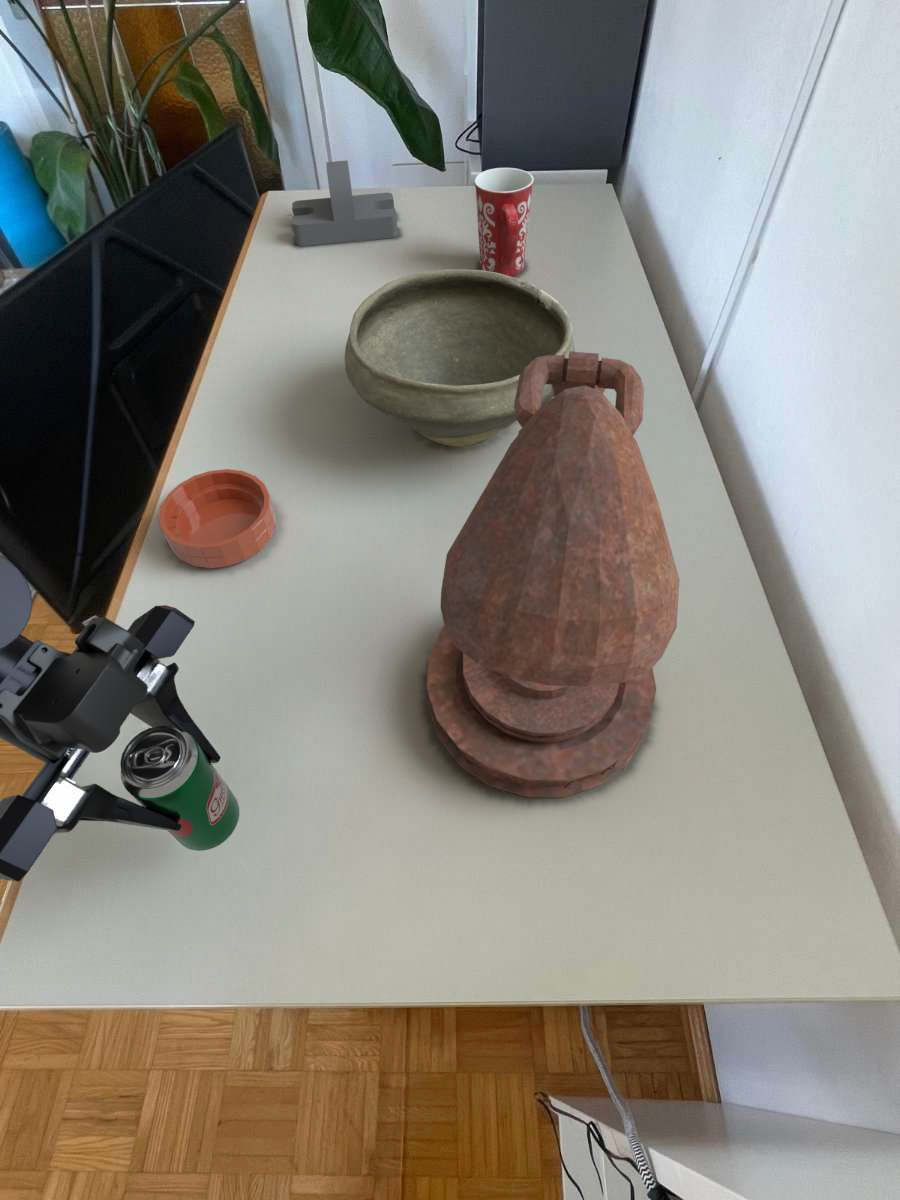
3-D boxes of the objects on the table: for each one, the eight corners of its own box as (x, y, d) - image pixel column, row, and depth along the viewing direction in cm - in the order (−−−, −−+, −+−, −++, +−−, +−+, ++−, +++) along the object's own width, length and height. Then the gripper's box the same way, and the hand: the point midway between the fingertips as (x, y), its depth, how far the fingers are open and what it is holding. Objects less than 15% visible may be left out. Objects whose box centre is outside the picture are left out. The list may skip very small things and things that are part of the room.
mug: (471, 255, 118) (471, 168, 108) (524, 251, 119) (529, 164, 108) (479, 294, 111) (479, 205, 100) (535, 290, 111) (542, 200, 100)
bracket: (398, 237, 123) (392, 170, 115) (296, 246, 122) (282, 180, 113) (393, 212, 129) (388, 147, 120) (296, 221, 128) (283, 156, 119)
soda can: (243, 843, 53) (195, 782, 44) (176, 860, 53) (112, 802, 43) (239, 782, 56) (193, 712, 47) (175, 798, 56) (115, 730, 46)
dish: (165, 577, 77) (151, 553, 74) (177, 500, 84) (165, 475, 81) (276, 564, 78) (267, 540, 75) (278, 488, 85) (270, 464, 82)
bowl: (475, 524, 80) (475, 427, 69) (312, 429, 92) (289, 331, 81) (607, 405, 93) (625, 306, 82) (449, 334, 104) (446, 238, 93)
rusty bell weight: (389, 861, 58) (283, 532, 26) (453, 567, 77) (438, 168, 45) (648, 904, 55) (885, 598, 23) (648, 589, 74) (779, 182, 42)
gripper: (-127, 807, 31) (168, 943, 38) (117, 520, 42) (314, 664, 49) (-141, 815, 39) (105, 926, 46) (67, 572, 50) (243, 690, 56)
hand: (198, 794), depth 49 cm, fingers closed on soda can, 5 cm apart
